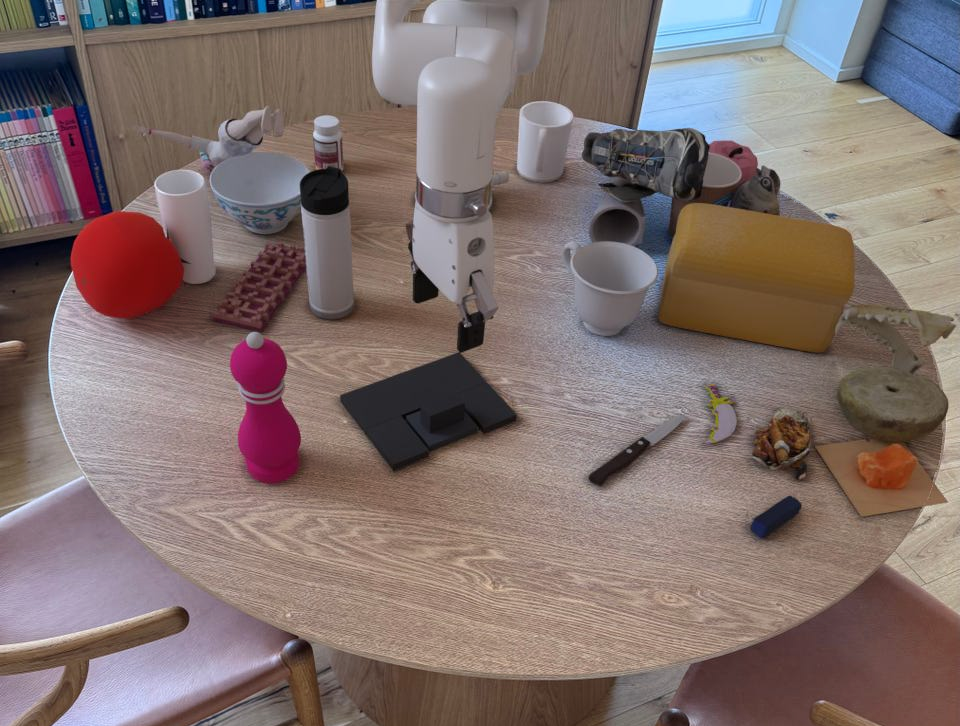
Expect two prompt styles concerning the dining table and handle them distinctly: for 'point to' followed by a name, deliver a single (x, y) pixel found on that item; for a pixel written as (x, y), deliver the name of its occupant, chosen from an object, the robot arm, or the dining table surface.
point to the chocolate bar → (262, 287)
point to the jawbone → (888, 335)
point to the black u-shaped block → (404, 393)
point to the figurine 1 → (229, 136)
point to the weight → (891, 403)
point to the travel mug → (327, 242)
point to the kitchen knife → (633, 451)
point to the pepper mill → (265, 410)
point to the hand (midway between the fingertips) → (447, 322)
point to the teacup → (608, 283)
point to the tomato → (126, 265)
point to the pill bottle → (327, 143)
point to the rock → (880, 476)
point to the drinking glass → (188, 221)
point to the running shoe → (649, 162)
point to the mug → (543, 140)
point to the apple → (737, 157)
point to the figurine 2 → (758, 193)
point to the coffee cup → (710, 187)
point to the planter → (618, 219)
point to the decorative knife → (721, 416)
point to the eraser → (775, 516)
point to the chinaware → (259, 189)
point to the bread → (757, 277)
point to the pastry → (784, 442)
